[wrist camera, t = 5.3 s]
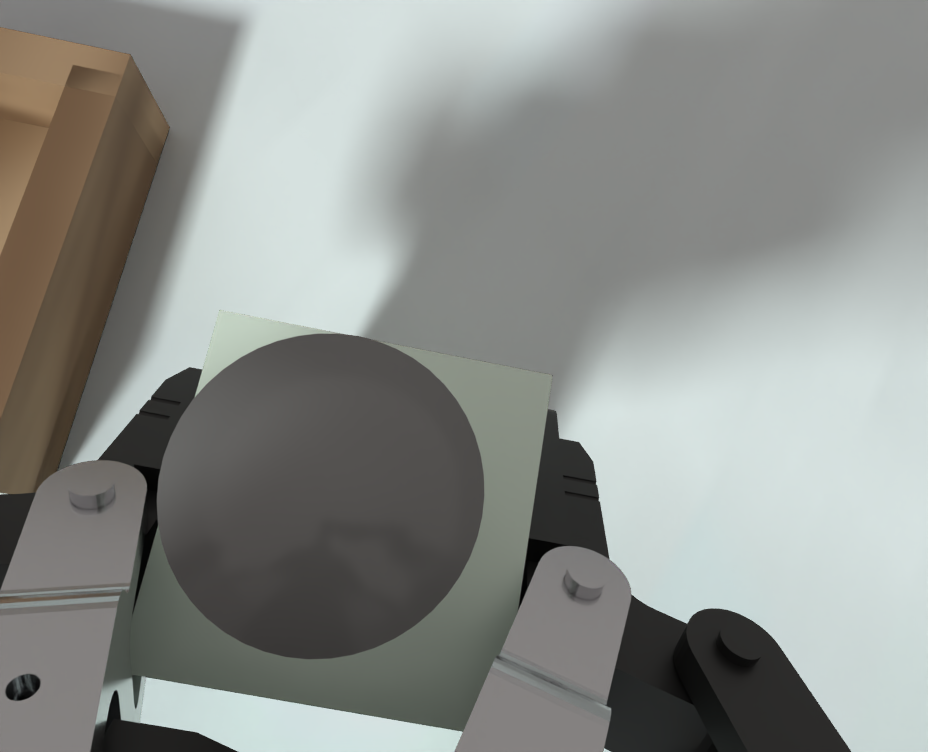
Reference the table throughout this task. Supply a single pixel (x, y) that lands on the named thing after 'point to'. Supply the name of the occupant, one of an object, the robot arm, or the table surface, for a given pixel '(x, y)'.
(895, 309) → the table surface
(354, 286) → the table surface
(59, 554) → the robot arm
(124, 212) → the rest
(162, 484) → the bottle
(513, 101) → the table surface
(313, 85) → the table surface
